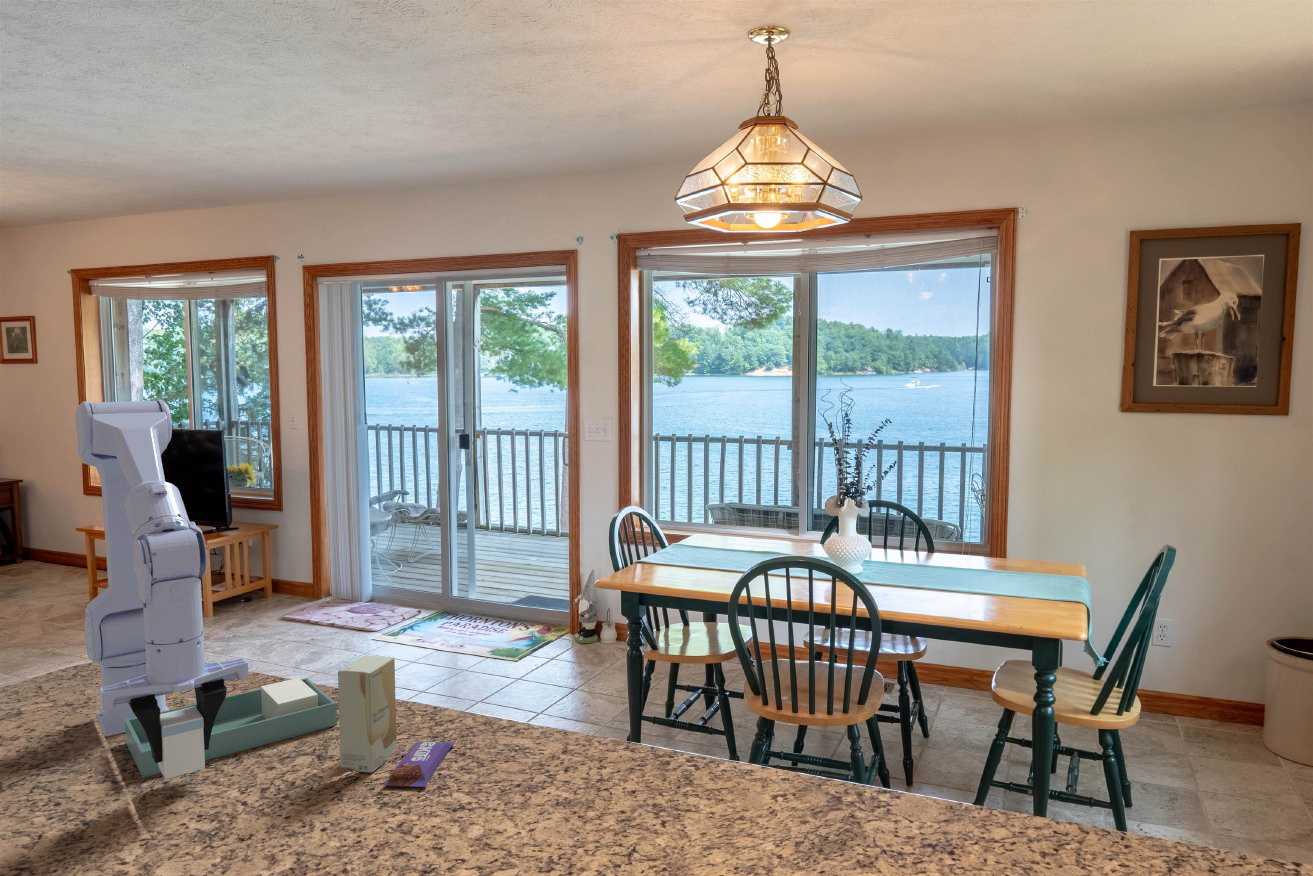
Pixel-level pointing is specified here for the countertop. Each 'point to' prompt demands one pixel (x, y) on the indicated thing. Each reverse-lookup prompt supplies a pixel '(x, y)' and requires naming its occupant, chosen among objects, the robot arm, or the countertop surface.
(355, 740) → the skincare box
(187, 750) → the milk carton
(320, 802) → the countertop surface
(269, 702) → the white box
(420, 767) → the snack package
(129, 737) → the tray
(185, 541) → the robot arm
